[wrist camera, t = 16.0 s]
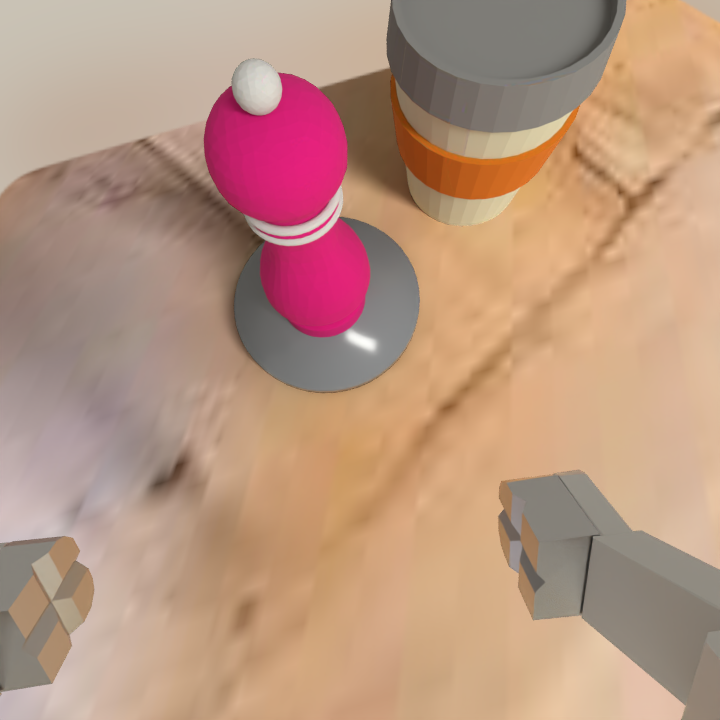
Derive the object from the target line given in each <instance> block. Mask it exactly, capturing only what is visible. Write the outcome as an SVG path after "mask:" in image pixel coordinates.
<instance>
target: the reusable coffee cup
mask: <svg viewBox="0 0 720 720" xmlns="http://www.w3.org/2000/svg"><path fill="white" fill-rule="evenodd" d="M625 11H626V0H391V6H390V15H389V23H388V31H387V57H388V61H389V65H390V69H391V72H392V77H391V81H390V83H391V102H392V109H393V116H394V123H395V130H396V137H397V144H398V147H399V151H400V155H401V157H402V159H403V161H404V162H405V164H406V171H407V179H408V186H409V190H410V194H411V196H412V197H413V199H414V201H415V203H416V204H417V205H418V206H419V208H420V209H421V210H422V211H423V212H425V213H426V214H427V215H428V216H430V217H432V218H433V219H435V220H437V221H439V222H443V223H446V224H449V225H455V226H472V225H477V224H481V223H484V222H486V221H489V220H491V219H493V218H494V217H496V216H497V215H499V214H500V213H501V212H502V211H503V210H504V209H505V208H506V207H507V206H508V205H509V203H510V202H511V200H512V199H513V197H514V196H515V194H516V193H517V191H518V190H519V189H520V187H521V186H523V185H524V184H526V183H527V182H528V181H529V180H530V179H532V178H533V177H534V176H535V175H536V174H537V173H538V171H539V170H540V168H541V167H542V166H543V164H544V163H545V161H546V160H547V159H548V157H549V156H550V154H551V153H552V151H553V150H554V149H555V147H556V146H557V144H558V143H559V142H560V140H561V139H562V137H563V136H564V135H565V133H566V132H567V130H568V129H569V127H570V126H571V124H572V123H573V121H574V120H575V118H576V115H577V112H578V109H579V107H580V104H581V103H582V102H583V101H584V100H585V99H586V98H588V97H589V96H590V95H591V93H592V92H593V90H594V89H595V87H596V86H597V84H598V82H599V81H600V79H601V77H602V74H603V72H604V69H605V67H606V64H607V61H608V59H609V56H610V54H611V51H612V48H613V46H614V43H615V41H616V38H617V36H618V33H619V30H620V27H621V25H622V22H623V19H624V16H625Z"/></svg>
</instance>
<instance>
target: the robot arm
mask: <svg viewBox="0 0 720 720" xmlns="http://www.w3.org/2000/svg"><path fill="white" fill-rule="evenodd" d="M499 499H500V501H501V503H502V505H503V507H504V510H503V511H502V512H501V513H500V515H499V516H498V525H499V535H500V542H501V546H502V549H503V552H504V556H505V558H506V560H507V563H508V565H509V567H510V568H512V569H513V570H515V571H516V572H517V573H519V582H518V588H519V590H520V592H521V594H522V597H523V599H524V601H525V603H526V606H527V608H528V610H529V612H530V614H531V617H532V619H533V620H540V619H550V618H559V617H569V616H579V615H582V618H583V619H584V620H585V621H586V622H587V623H588V624H590V625H591V626H592V627H593V628H594V629H596V630H597V631H598V632H599V633H600V634H601V635H603V636H604V637H605V638H606V639H607V640H609V641H610V642H611V643H612V644H613V645H615V646H616V647H617V648H618V649H619V650H620V651H622V652H623V653H624V654H625V655H626V656H628V657H629V658H630V659H631V660H632V661H633V662H635V663H636V664H637V665H638V666H639V667H641V668H642V669H643V670H644V671H645V672H647V673H648V674H649V675H650V676H651V677H652V678H654V679H655V680H656V681H657V682H658V683H660V684H661V685H662V686H663V687H664V688H665V689H667V690H668V691H669V692H670V693H671V694H673V695H674V696H675V697H676V698H677V699H679V700H680V701H681V702H682V703H683V704H684V705H686V706H685V709H684V712H683V716H682V719H681V720H720V570H719V569H717V568H715V567H713V566H711V565H709V564H707V563H705V562H703V561H701V560H699V559H697V558H695V557H693V556H691V555H689V554H687V553H685V552H683V551H681V550H679V549H677V548H675V547H673V546H671V545H669V544H667V543H665V542H663V541H661V540H659V539H657V538H655V537H653V536H651V535H649V534H647V533H645V532H643V531H632V530H631V528H630V527H629V526H628V525H627V524H626V522H625V521H624V520H623V519H622V517H621V516H620V515H619V514H618V513H617V511H616V510H615V509H614V508H613V506H612V505H611V504H610V503H609V502H608V500H607V499H606V498H605V497H604V495H603V494H602V493H601V492H600V491H599V489H598V488H597V487H596V486H595V484H594V483H593V482H592V481H591V480H590V478H589V477H588V476H587V475H586V473H585V472H583V471H581V470H574V471H567V472H561V473H554V474H553V475H543V476H535V477H528V478H520V479H513V480H505V481H501V484H500V487H499ZM79 552H80V550H79V548H78V546H77V545H76V543H75V541H74V539H73V538H71V537H66V536H62V537H52V538H42V539H32V540H23V541H13V542H10V543H0V696H1V692H3V691H10V690H16V689H22V688H28V687H34V686H40V685H47V684H52V683H53V681H54V679H55V677H56V675H57V673H58V671H59V670H60V668H61V666H62V664H63V662H64V660H65V658H66V656H67V654H68V652H69V650H70V648H71V646H72V644H71V640H70V634H71V633H72V632H73V631H74V630H75V629H77V628H78V627H79V626H80V625H81V624H82V623H83V622H84V621H85V619H86V617H87V615H88V613H89V611H90V609H91V606H92V600H93V594H94V585H93V578H92V576H91V573H90V571H89V569H88V568H87V567H85V566H84V565H82V564H81V563H79V562H77V561H76V559H77V557H78V554H79Z"/></svg>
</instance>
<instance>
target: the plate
mask: <svg viewBox="0 0 720 720" xmlns="http://www.w3.org/2000/svg"><path fill="white" fill-rule="evenodd" d="M339 218H340V219H341V220H343V221H344V222H345V223H346V224H348V225H349V226H350V227H351V228H352V229H353V230H354V232H355V233H356V234H357V236H358V237H359V239H360V240H361V242H362V243H363V245H364V247H365V250H366V253H367V256H368V260H369V265H370V282H369V286H368V290H367V293H366V295H365V305H364V309H363V311H362V314H361V315H360V317H359V318H358V320H357V322H356V323H355V324H354V325H353V326H352V327H351V328H349V329H348V330H346V331H345V332H343V333H340V334H338V335H336V336H331V337H312V336H309V335H306V334H304V333H302V332H300V331H299V330H297V329H296V328H295V327H294V326H293V325H292V324H291V323H290V322H289V321H288V319H287V318H285V317H283V316H282V315H281V314H280V313H278V312H277V311H276V310H275V309H274V307H273V306H272V305H271V304H270V302H269V300H268V299H267V297H266V294H265V292H264V289H263V286H262V283H261V278H260V258H261V253H262V249H263V246H264V243H265V242H264V243H262V244H261V245H260V246H259V247H258V248H257V250H256V251H255V252H254V253H253V254H252V256H251V257H250V259H249V260H248V262H247V263H246V265H245V267H244V269H243V271H242V273H241V275H240V278H239V281H238V284H237V288H236V293H235V301H234V312H235V321H236V325H237V330H238V332H239V335H240V338H241V340H242V342H243V344H244V346H245V347H246V349H247V351H248V352H249V353H250V355H251V356H252V357H253V359H254V360H255V361H256V362H257V363H258V364H259V365H260V366H261V367H262V368H263V369H264V370H265V371H266V372H267V373H269V374H270V375H271V376H273V377H274V378H275V379H277V380H279V381H281V382H282V383H284V384H286V385H289V386H291V387H294V388H296V389H300V390H304V391H308V392H316V393H335V392H342V391H347V390H351V389H354V388H358V387H360V386H362V385H365V384H367V383H369V382H371V381H373V380H374V379H376V378H378V377H379V376H381V375H382V374H383V373H385V372H386V371H387V370H388V369H390V368H391V367H392V366H393V365H394V364H395V363H396V361H397V360H398V359H399V358H400V357H401V355H402V354H403V353H404V351H405V350H406V348H407V346H408V344H409V343H410V341H411V338H412V336H413V333H414V331H415V327H416V323H417V319H418V313H419V303H420V297H419V287H418V282H417V277H416V275H415V272H414V269H413V267H412V265H411V263H410V261H409V259H408V257H407V256H406V254H405V253H404V252H403V250H402V249H401V248H400V247H399V246H398V244H397V243H396V242H395V241H394V240H393V239H391V238H390V237H389V236H388V235H386V234H385V233H384V232H382V231H380V230H379V229H377V228H376V227H373V226H371V225H369V224H367V223H364V222H361V221H358V220H355V219H350V218H345V217H339Z"/></svg>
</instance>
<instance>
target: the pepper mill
mask: <svg viewBox="0 0 720 720" xmlns="http://www.w3.org/2000/svg"><path fill="white" fill-rule="evenodd" d="M204 151H205V159H206V163H207V167H208V170H209V173H210V175H211V177H212V179H213V181H214V183H215V185H216V187H217V189H218V190H219V192H220V193H221V194H222V196H223V197H224V198H225V199H226V201H227V202H228V203H229V204H230V205H232V206H233V207H234V208H236V209H237V210H238V211H240V212H241V213H243V215H244V216H245V218H246V221H247V223H248V224H249V226H250V227H251V229H252V230H253V231H254V232H255V233H256V234H257V235H258V236H260V237H261V238H263V239H264V240H266V241H265V243H264V246H263V249H262V253H261V258H260V278H261V283H262V286H263V289H264V292H265V294H266V297H267V299H268V300H269V302H270V304H271V305H272V306H273V307H274V309H275V310H276V311H277V312H278V313H280V314H281V315H282V316H283V317H285V318H287V319H288V321H289V322H290V323H291V324H292V325H293V326H294V327H295V328H296V329H297V330H299V331H300V332H302V333H304V334H306V335H309V336H312V337H331V336H336V335H338V334H340V333H343V332H345V331H346V330H348V329H349V328H351V327H352V326H353V325H354V324H355V323H356V322H357V320H358V318H359V317H360V315H361V314H362V311H363V309H364V305H365V295H366V293H367V290H368V286H369V282H370V265H369V260H368V256H367V253H366V250H365V247H364V245H363V243H362V242H361V240H360V239H359V237H358V236H357V234H356V233H355V232H354V230H353V229H352V228H351V227H350V226H349V225H348V224H346V223H345V222H344V221H343V220H341V219H340V218H339V215H340V213H341V210H342V206H343V192H342V188H341V183H342V180H343V177H344V174H345V172H346V169H347V139H346V135H345V131H344V126H343V124H342V122H341V119H340V117H339V115H338V113H337V111H336V109H335V107H334V106H333V104H332V103H331V101H330V100H329V99H328V98H327V97H326V96H325V95H324V94H323V93H322V92H321V91H320V90H319V89H318V88H317V87H316V86H314V85H313V84H311V83H309V82H308V81H306V80H305V79H302V78H299V77H297V76H294V75H292V74H285V73H277V72H276V71H275V70H274V68H273V67H272V66H271V65H270V64H268V63H267V62H265V61H263V60H261V59H248V60H245V61H243V62H242V63H241V64H240V65H239V66H238V67H237V68H236V69H235V72H234V74H233V77H232V86H230V87H229V88H228V89H227V90H226V91H225V92H224V93H223V94H221V95H220V97H219V98H218V100H217V101H216V102H215V104H214V106H213V108H212V110H211V112H210V114H209V117H208V119H207V122H206V128H205V134H204Z"/></svg>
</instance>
